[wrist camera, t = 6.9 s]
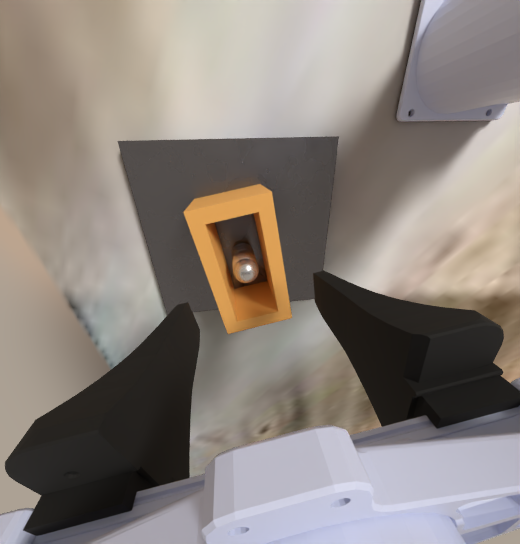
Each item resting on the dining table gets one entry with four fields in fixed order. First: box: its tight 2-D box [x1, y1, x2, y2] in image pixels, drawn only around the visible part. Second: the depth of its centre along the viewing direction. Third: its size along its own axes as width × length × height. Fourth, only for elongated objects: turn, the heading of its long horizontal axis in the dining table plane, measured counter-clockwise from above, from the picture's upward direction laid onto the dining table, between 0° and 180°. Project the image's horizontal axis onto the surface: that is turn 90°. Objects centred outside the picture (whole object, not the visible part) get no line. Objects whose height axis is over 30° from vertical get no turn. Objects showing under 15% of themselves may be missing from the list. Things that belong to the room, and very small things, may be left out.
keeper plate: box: [118, 137, 339, 315], centre depth 18 cm, size 16×15×6 cm
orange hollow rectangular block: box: [184, 184, 292, 334], centre depth 17 cm, size 5×10×5 cm, turn 11°
